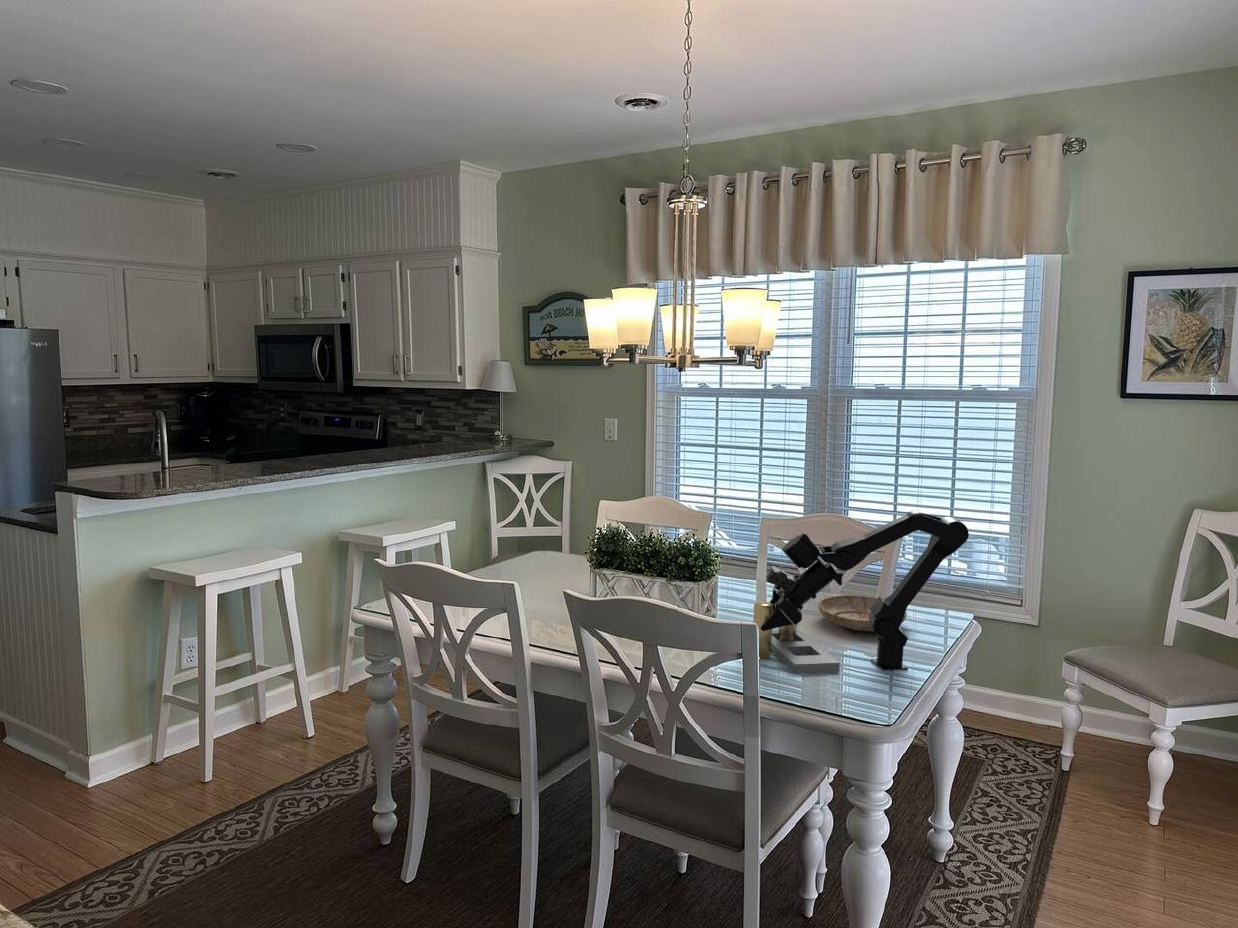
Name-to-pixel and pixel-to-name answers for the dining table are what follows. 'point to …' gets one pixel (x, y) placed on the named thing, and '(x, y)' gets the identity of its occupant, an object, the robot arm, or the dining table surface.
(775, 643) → the frame
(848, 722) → the dining table surface
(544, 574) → the dining table surface
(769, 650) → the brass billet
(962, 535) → the robot arm
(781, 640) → the cylinder
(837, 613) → the ceramic bowl
